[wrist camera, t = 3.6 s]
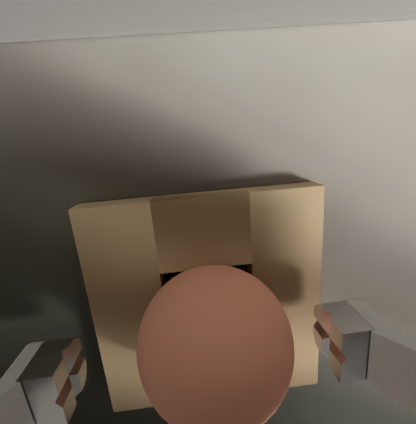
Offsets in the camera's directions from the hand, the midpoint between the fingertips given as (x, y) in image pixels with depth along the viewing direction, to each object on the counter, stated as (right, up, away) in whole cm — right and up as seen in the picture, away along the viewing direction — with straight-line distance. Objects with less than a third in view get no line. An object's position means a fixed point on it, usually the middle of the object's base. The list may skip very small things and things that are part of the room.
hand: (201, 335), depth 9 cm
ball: (0, +1, +2) cm, 2 cm away
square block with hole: (0, +1, +2) cm, 2 cm away
